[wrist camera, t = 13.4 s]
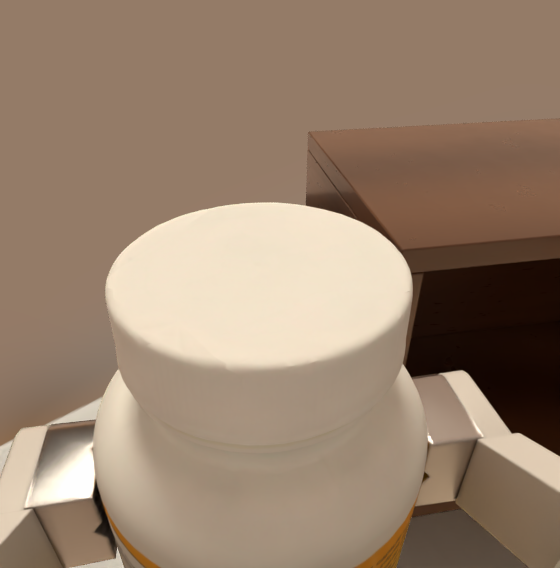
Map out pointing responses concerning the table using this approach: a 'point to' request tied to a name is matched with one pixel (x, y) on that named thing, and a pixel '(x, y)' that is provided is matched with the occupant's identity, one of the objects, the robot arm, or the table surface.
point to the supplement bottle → (260, 394)
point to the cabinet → (465, 251)
